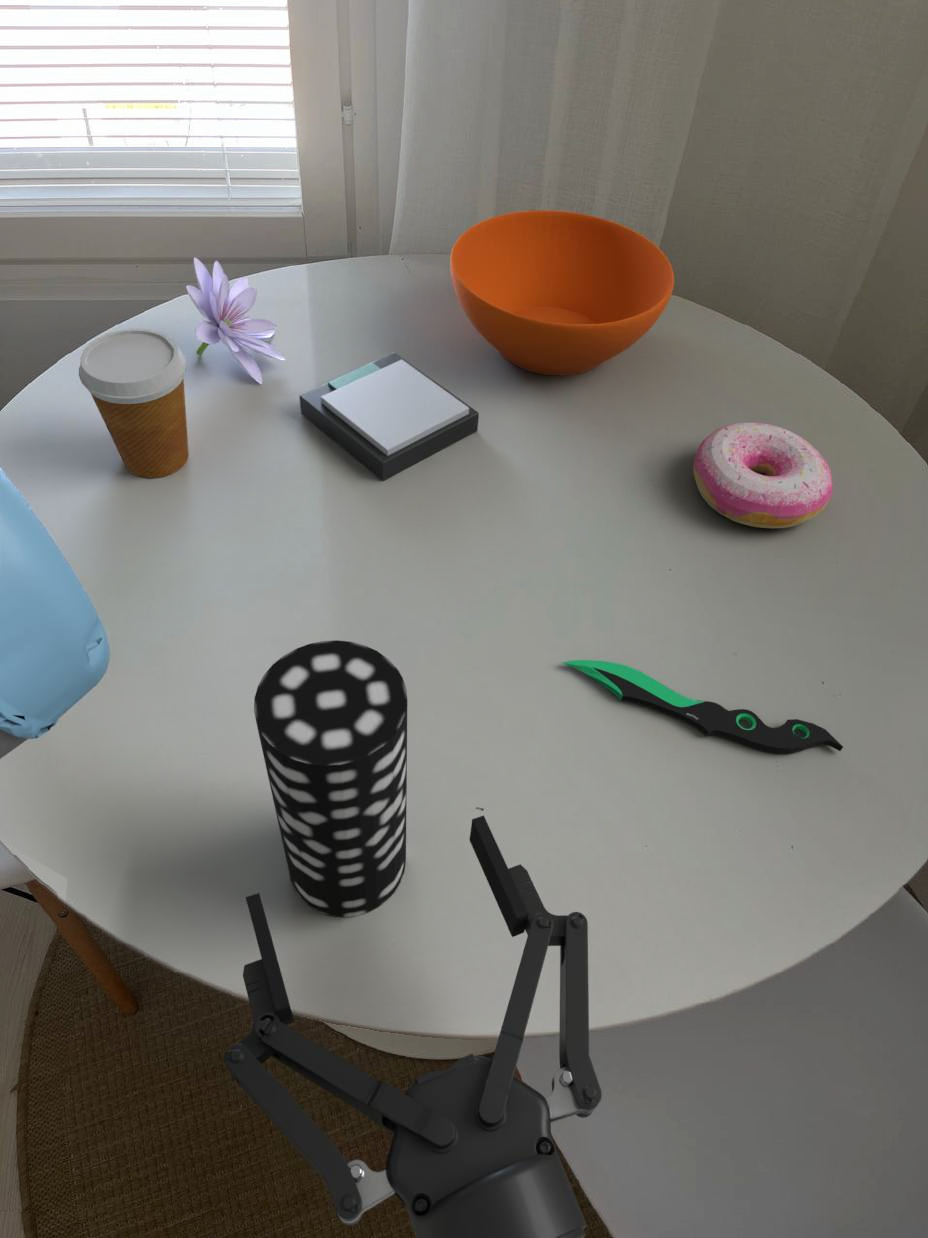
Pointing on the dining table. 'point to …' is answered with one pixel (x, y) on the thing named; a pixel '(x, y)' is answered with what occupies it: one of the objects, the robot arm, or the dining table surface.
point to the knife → (704, 711)
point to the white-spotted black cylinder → (337, 772)
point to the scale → (389, 415)
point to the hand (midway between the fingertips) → (369, 864)
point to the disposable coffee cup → (140, 398)
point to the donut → (768, 500)
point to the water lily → (230, 317)
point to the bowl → (559, 287)
